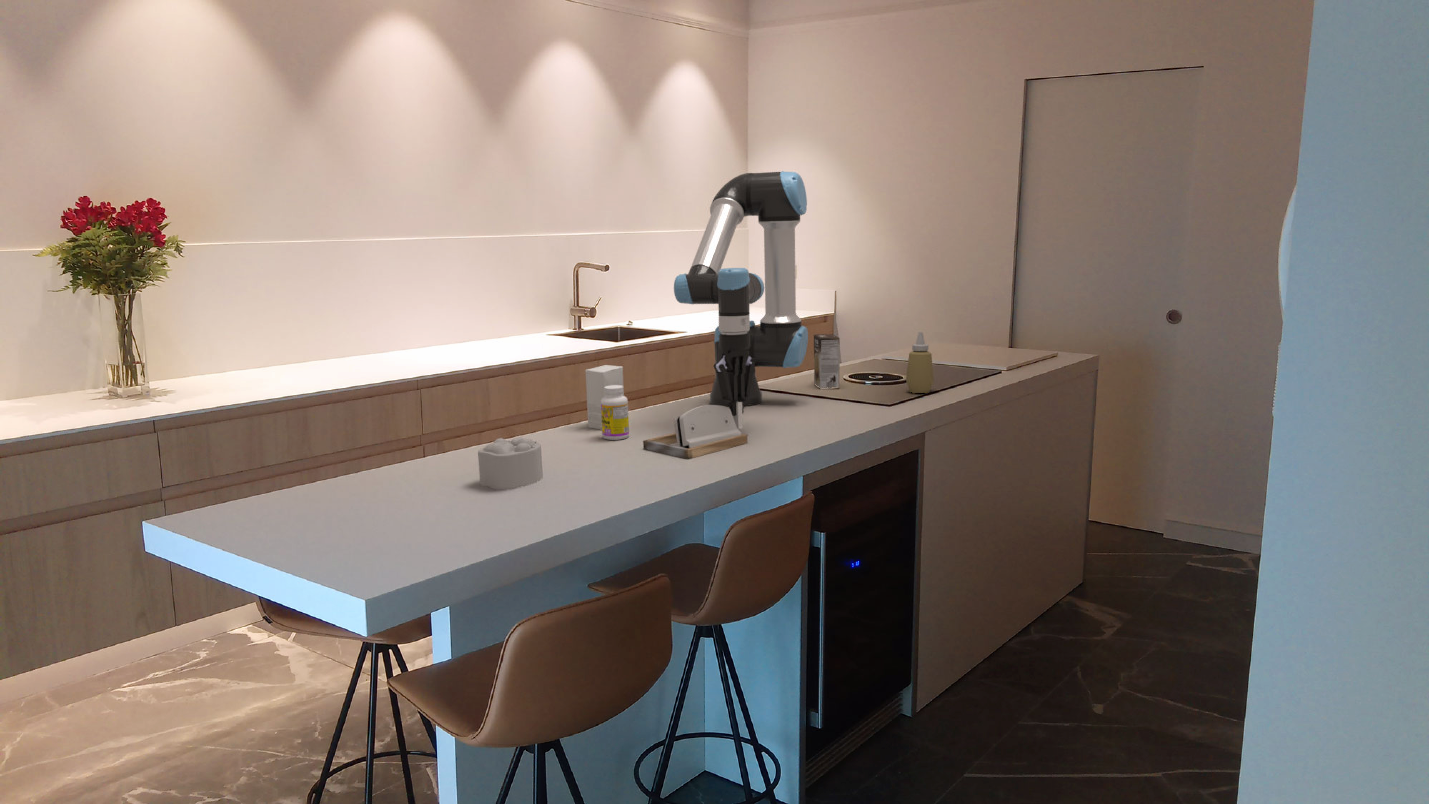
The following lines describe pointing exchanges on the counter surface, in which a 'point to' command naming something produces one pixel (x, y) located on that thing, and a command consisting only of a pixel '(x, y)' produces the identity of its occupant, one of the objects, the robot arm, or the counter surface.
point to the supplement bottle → (614, 413)
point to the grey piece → (705, 426)
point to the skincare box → (600, 390)
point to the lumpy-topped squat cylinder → (510, 463)
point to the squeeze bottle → (920, 367)
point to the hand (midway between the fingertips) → (736, 427)
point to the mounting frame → (663, 446)
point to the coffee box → (826, 360)
